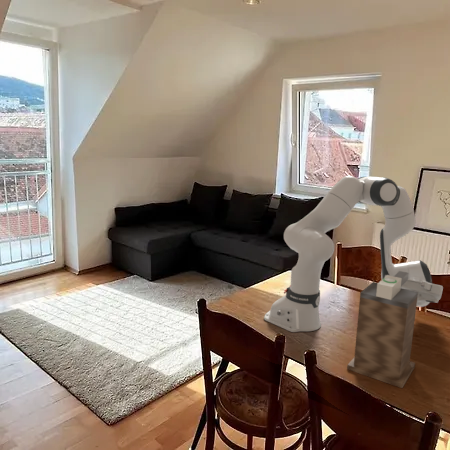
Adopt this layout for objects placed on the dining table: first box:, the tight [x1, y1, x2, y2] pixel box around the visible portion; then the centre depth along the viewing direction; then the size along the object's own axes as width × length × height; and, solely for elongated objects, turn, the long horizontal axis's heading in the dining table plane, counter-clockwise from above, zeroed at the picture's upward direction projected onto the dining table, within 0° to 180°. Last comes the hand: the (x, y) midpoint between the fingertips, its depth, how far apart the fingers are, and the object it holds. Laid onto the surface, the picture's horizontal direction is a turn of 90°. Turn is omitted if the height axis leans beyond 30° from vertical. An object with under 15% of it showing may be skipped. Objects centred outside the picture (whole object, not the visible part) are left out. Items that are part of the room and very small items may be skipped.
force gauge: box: [376, 271, 409, 300], centre depth 137 cm, size 4×22×4 cm, turn 144°
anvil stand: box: [346, 281, 418, 389], centre depth 136 cm, size 17×15×26 cm
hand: (409, 281), depth 155 cm, fingers open, 8 cm apart
